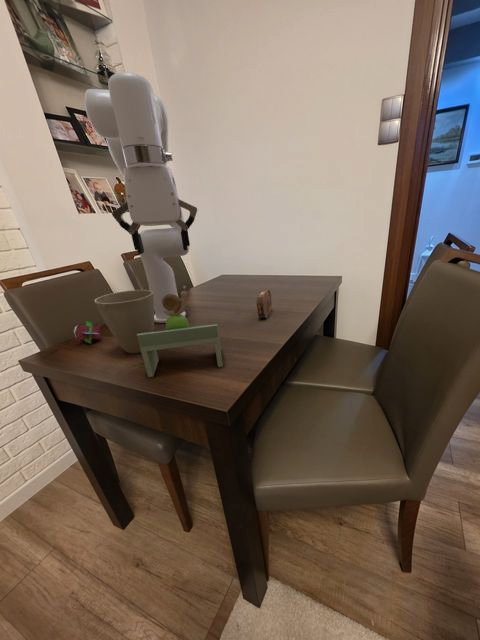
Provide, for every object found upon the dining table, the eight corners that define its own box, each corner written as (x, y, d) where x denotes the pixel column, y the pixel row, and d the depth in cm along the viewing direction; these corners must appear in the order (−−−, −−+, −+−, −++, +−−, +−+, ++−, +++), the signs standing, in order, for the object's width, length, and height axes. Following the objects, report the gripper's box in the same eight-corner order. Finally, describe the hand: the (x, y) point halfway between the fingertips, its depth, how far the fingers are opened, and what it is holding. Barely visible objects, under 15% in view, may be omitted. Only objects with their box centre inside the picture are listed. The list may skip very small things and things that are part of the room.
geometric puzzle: (100, 328, 96) (79, 314, 90) (110, 331, 92) (89, 317, 86) (87, 345, 94) (65, 333, 88) (97, 349, 90) (74, 336, 84)
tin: (265, 321, 98) (263, 297, 95) (256, 321, 99) (254, 298, 95) (272, 308, 111) (271, 287, 108) (264, 308, 112) (263, 287, 108)
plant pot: (160, 355, 78) (146, 299, 71) (104, 362, 76) (85, 306, 70) (167, 335, 92) (157, 287, 85) (120, 341, 90) (105, 292, 83)
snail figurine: (191, 338, 67) (182, 288, 62) (165, 340, 67) (153, 290, 62) (196, 330, 72) (188, 283, 67) (171, 331, 72) (161, 285, 67)
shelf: (154, 360, 76) (144, 322, 71) (220, 351, 78) (215, 314, 73) (148, 377, 68) (136, 335, 63) (222, 366, 70) (217, 325, 65)
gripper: (190, 162, 60) (202, 246, 67) (105, 165, 57) (127, 252, 65) (189, 155, 53) (202, 250, 61) (92, 158, 51) (118, 257, 58)
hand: (163, 251), depth 63 cm, fingers open, 9 cm apart
